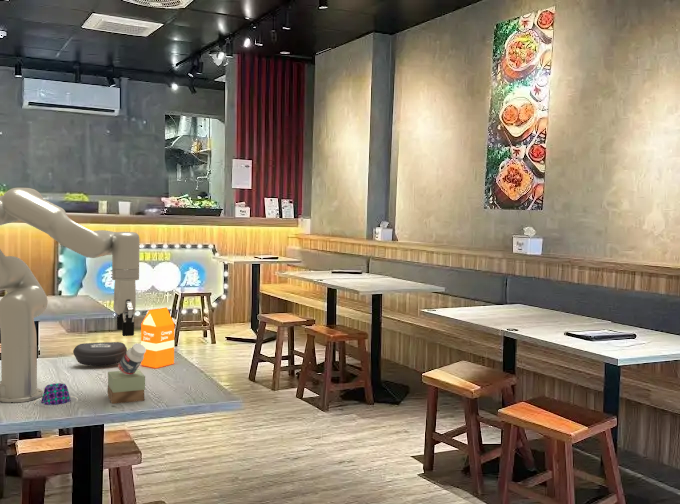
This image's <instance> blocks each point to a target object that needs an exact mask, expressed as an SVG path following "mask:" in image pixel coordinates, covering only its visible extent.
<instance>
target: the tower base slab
mask: <svg viewBox="0 0 680 504" xmlns="http://www.w3.org/2000/svg"><path fill="white" fill-rule="evenodd" d="M107 397H108V399H109V401H110V403H111V404H124V403H131V402H132V403H133V402H143V401H145V390H137V391H127V392H116V393H113V392H112V390H111V389H110V387H109V386H108V385H107Z"/></svg>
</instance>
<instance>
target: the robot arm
mask: <svg viewBox="0 0 680 504" xmlns="http://www.w3.org/2000/svg"><path fill="white" fill-rule="evenodd" d="M17 221H21V222H23V223H25V224H26V225H29V226H31V227H33V228H35V229H37V230H38V231H41V232H42V233H45V234H47V235H48V236H49V238H52V239H53V240H54V241H56V242H57V243H58V244H60V245H61V246H63V247H65V248H67V249H68V250H71V251H73V252H75V253H77V254H79V255H81V256H83V257H86V258H88V259H89V258H90V259H97V258H101V257H106V256H112V257H111V261H112V262H111V265H112V266H111V268H112V269H111V273H112V274H111V280H113V281H114V288H113V289H114V290H113V311H114V312H115V314H116V330H117V331H122V332H121V333H122V334H121V335H122V336H123V337H131V336H132V337H133V336H135V318H134V316H135V315H134V314H135V313H136V306H137V305H136V303H137V299H136V298H137V297H136V295H137V293H136V292H137V289H136V288H137V287H136V281H138V280H140V235H139V234H138V233H137V232H134V231H118V232H117V231H111V230H105V229H104V230H103V229H99V230H91V229H89V228H87V227H85V226H83V225H81V224H79V223H77V222H76V221H74V220H73V219H71V218H70V217H69V216H68V214H67V212H66V210H65V209H64V208H63V207H61V206H58V205H56V204H55V203H52V202H51V201H48V200H47V199H44V197H43V196H42V194H41V192H39V191H38V190H36V189H34V188H30V187H12V188H10V189H8V190H7V191H6V192H5V193H4V194H3V195H0V226H4V225H7V224H11V223H13V222H17ZM4 290H5V291H6V292H7V293H6V294H5V295H4V296H2V298H1V299H0V347H1V348H0V358H1V359H0V363H1V364H0V365H1V366H0V367H1V373H0V374H1V380H0V402H1V403H11V402H13V403H14V404H15V403H23V402H25V403H26V402H30V401H35V400H37V399H39V398H42V397H43V393H44V390H42V389H40V388H38V345H37V340H38V339H37V329H36V328H37V327H36V324H35V318H37V317H39V316H41V315H42V314H43V313H45V311H46V310H47V308H48V302H49V300H48V296H47V294H46V292H45V290H44V288H43V287H42V284H40V282H39V281H38V279H37V278H36V276H35V275H34V273H33V271H32V270H31V269H30V267H29V266H28V264H27V263H26V262H25V261H24V260H23V259H21V258H19V257H18V256H13V255H8V256H7V255H5V253H4V252H3V251H2V249H0V292H1V291H4ZM13 403H11V404H13Z"/></svg>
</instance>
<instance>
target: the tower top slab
mask: <svg viewBox="0 0 680 504" xmlns="http://www.w3.org/2000/svg"><path fill="white" fill-rule="evenodd" d="M108 386H109V387H110V389H111V390H112V392H113V393H116V392H127V391H137V390H144V391H146V375H144V373H143V372H142V371H141V370H140V369H138V368H137V370H136V371H135V373H134V374H133V375H125V374H123V373H122V372H121V371H120V370H111V371H108V372H107V387H108Z"/></svg>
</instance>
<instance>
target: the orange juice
mask: <svg viewBox="0 0 680 504" xmlns="http://www.w3.org/2000/svg"><path fill="white" fill-rule="evenodd" d="M140 327H141V328H140V344H141V345H143V346H144V347H145V348H146V352H145V354H144V359H143V361H142V362H141V364H140V365H141V366H144V367H150V368H155V369H158V368H161V367H165V366H170V365H174V364H175V322H174V320H173V318H172V316H171V314H170V311H169V309H168V307H161V308H160V307H159V308H155V309H148V311H147V313H146V315H145V317H144V318H143V320H142V322H141V324H140Z"/></svg>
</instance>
